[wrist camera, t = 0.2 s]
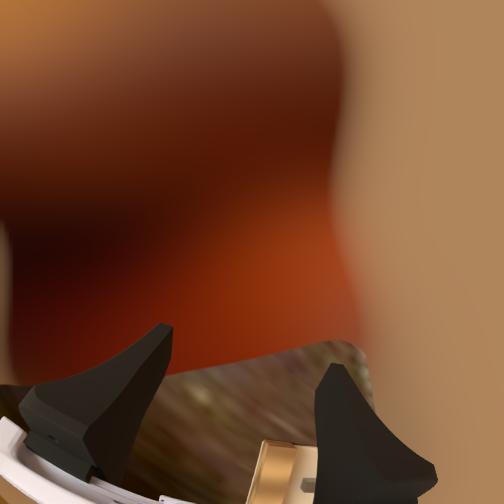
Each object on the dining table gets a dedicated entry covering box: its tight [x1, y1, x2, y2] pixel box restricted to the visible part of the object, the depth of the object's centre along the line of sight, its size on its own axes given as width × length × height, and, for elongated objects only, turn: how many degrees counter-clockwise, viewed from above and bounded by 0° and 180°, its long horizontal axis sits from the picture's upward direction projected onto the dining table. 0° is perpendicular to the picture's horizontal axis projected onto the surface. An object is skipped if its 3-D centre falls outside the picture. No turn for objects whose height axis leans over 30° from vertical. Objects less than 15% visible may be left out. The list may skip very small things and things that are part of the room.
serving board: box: [246, 441, 318, 504], centre depth 34 cm, size 13×16×1 cm
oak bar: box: [247, 439, 297, 504], centre depth 32 cm, size 14×4×4 cm, turn 168°
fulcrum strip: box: [300, 478, 316, 493], centre depth 33 cm, size 2×7×2 cm, turn 78°
